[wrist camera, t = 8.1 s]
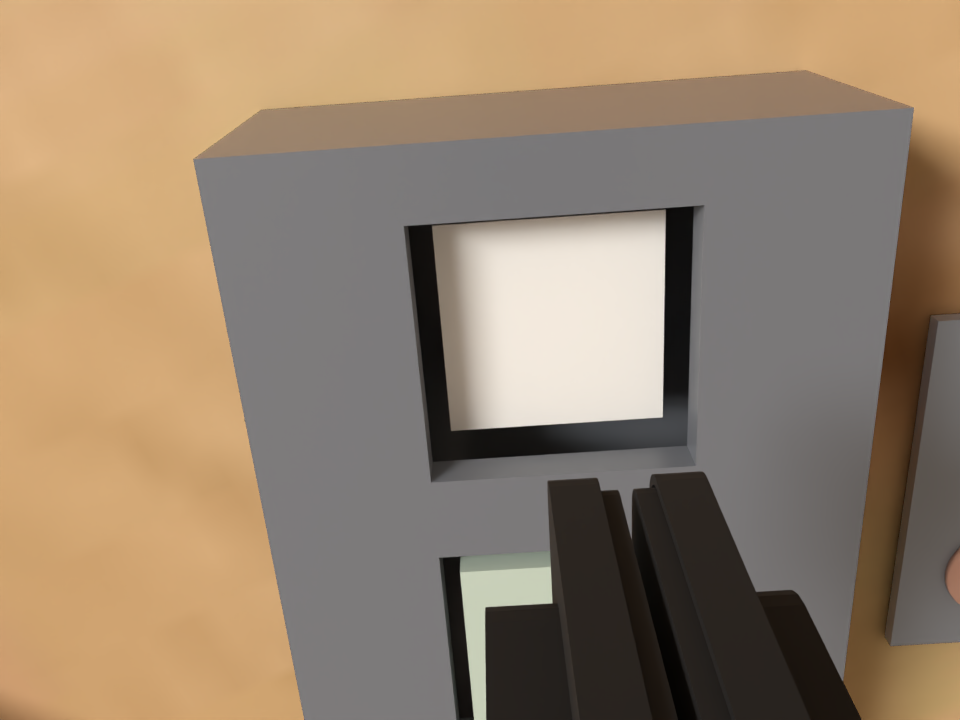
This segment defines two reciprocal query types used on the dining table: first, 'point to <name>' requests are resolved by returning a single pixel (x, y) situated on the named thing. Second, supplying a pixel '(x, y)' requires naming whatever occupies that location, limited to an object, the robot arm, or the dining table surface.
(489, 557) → the sage key
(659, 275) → the off-white key
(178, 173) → the dining table surface
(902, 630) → the card
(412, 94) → the dining table surface
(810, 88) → the keypad housing
